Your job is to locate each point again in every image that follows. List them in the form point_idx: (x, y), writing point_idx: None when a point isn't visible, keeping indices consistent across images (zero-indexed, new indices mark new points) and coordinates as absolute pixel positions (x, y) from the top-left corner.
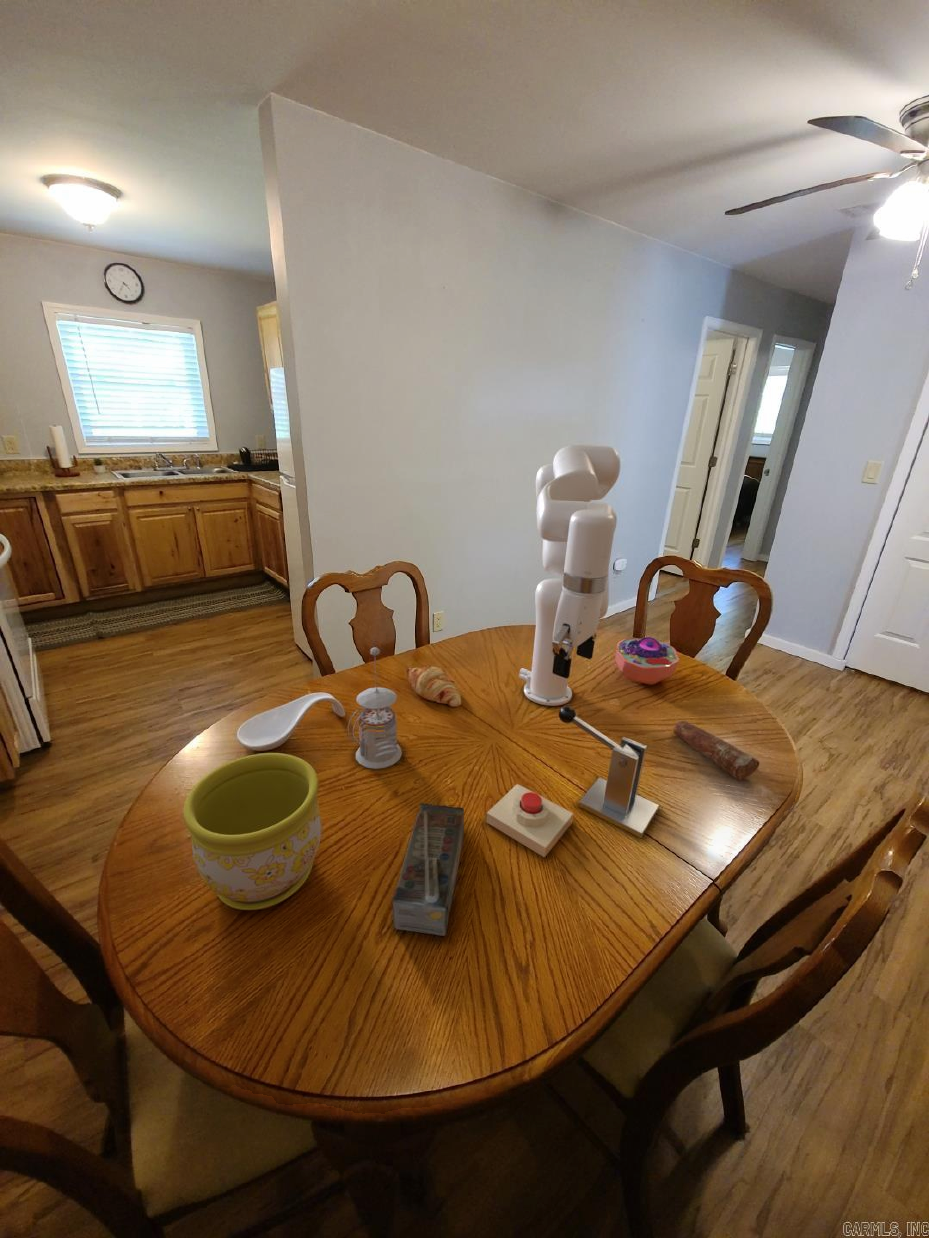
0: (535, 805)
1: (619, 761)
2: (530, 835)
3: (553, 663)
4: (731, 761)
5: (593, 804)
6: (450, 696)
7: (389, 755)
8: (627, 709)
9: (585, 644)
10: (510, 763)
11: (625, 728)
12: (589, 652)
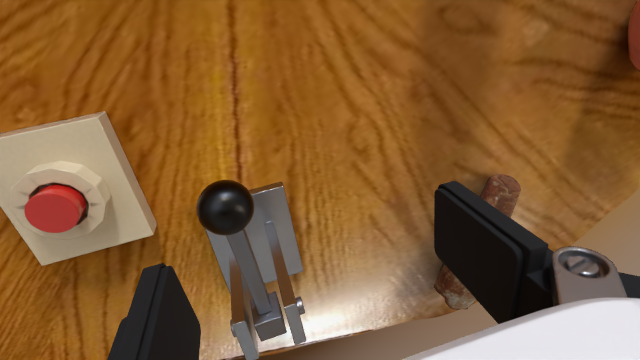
0: (48, 229)
1: (231, 326)
2: (29, 235)
3: (127, 317)
4: (451, 287)
5: None
6: None
7: None
8: (521, 70)
9: (487, 275)
10: (159, 26)
11: (457, 110)
12: (457, 270)
